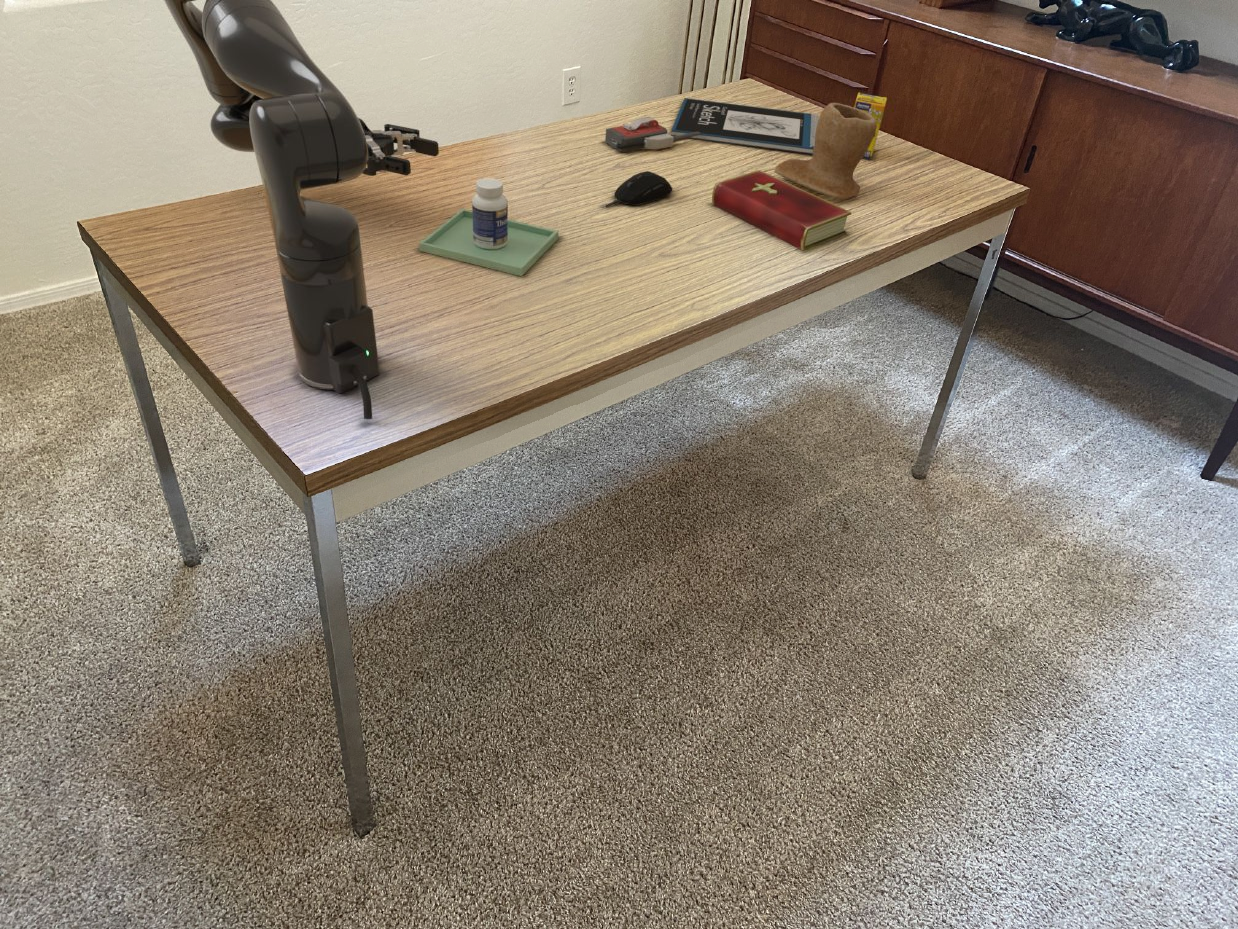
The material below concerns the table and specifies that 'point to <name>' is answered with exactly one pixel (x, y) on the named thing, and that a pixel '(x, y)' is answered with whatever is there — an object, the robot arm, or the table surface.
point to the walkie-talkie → (642, 136)
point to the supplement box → (874, 108)
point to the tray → (512, 258)
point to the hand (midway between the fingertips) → (423, 158)
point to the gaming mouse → (642, 189)
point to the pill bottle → (490, 214)
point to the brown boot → (834, 152)
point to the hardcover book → (780, 209)
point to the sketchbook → (747, 125)
